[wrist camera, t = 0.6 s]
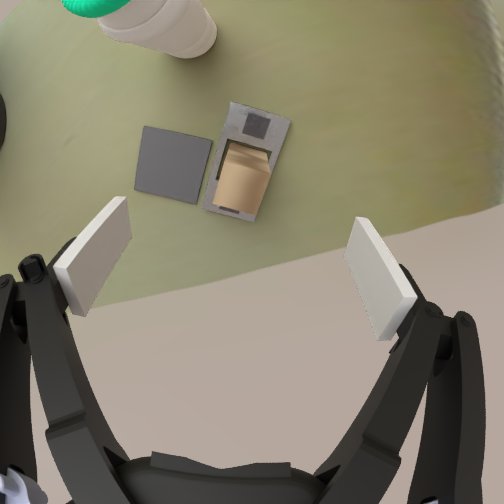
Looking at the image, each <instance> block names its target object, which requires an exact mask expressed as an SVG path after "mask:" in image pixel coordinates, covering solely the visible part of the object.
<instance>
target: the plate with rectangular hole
mask: <svg viewBox="0 0 504 504" xmlns="http://www.w3.org/2000/svg"><path fill="white" fill-rule="evenodd" d="M290 122H291V120H290V119H288V118H285V117H282V116H279V115H276V114H273V113H270V112H267V111H263V110H260V109H257V108H253V107H250V106H246V105H243V104H239V103H236V102H231V104H230V108H229V111H228V114H227V117H226V120H225V124H224V127H223V130H222V134H221V137H220V141H219V144H218V148H217V151H216V155H215V158H214V162H213V166H212V169H211V173H210V177H209V180H208V184H207V188H206V192H205V196H204V200H203V204H202V208H201V209H205V210H208V211H212V212H216V213H220V214H224V215H228V216H231V217H235V218H239V219H243V220H246V221H250V222H254V220H255V217H256V215H253V214H249V213H245V212H242V211H238V210H234V209H231V208H227V207H223V206H219V205H215V204H213V200H214V196H215V193H216V189H217V186H218V182H219V178H218V177H216V176H217V173H218V169H219V166H220V162H221V159H222V155H223V152H224V148H225V145H226V142H227V138H228V139H232V140H235V141H239V142H242V143H246V144H249V145H253V146H256V147H260V148H263V149H266V150H269V151H271V153H270V156H269V159H268V163H269V168H270V172H271V174H272V171H273V168H274V165H275V163H276V160H277V157H278V154H279V152H280V149H281V146H282V144H283V141H284V138H285V136H286V133H287V130H288V127H289V125H290Z"/></svg>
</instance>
